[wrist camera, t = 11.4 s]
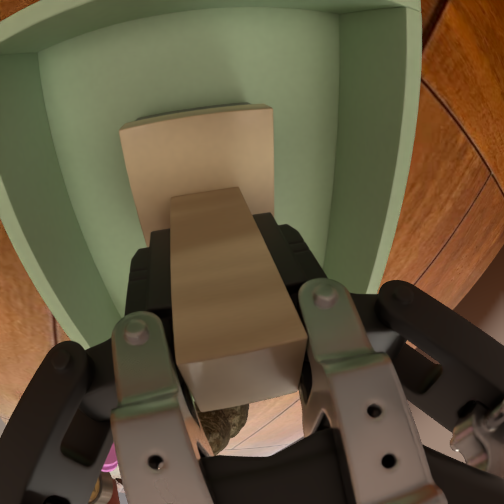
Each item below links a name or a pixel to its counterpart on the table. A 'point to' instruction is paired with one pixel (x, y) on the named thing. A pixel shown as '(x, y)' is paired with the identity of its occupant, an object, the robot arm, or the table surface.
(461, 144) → the table surface
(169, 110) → the bin
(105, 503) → the alarm clock
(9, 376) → the table surface
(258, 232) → the base with upright post
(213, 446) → the seashell
